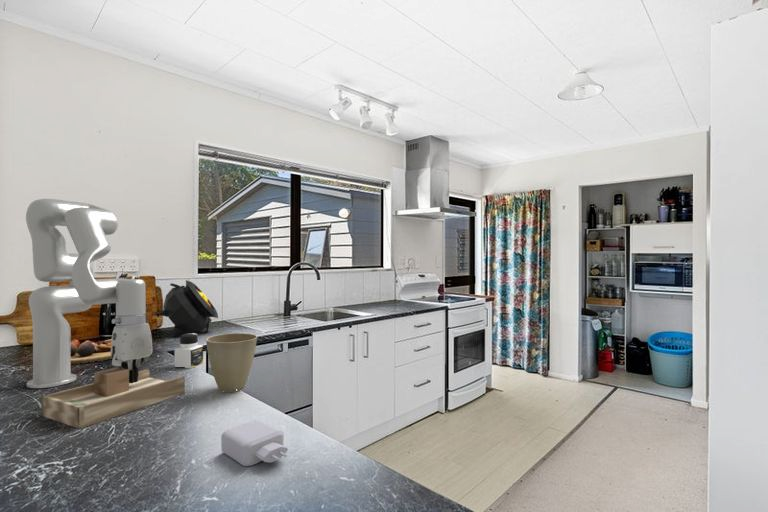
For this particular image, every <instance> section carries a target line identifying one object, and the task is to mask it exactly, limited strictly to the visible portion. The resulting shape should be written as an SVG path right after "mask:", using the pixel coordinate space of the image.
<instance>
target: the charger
mask: <svg viewBox="0 0 768 512" xmlns="http://www.w3.org/2000/svg"><path fill="white" fill-rule="evenodd" d="M284 438H285V437H284V431H283V430H281V429H279V428H276V427H275V426H273V425H271V424H269V423H266V422H264V421H262V420H261V419H256V420H251V421H249V422H246V423H243V424H240V425H237V426H234V427H231V428H229V429H226V430H224V431H223V432H222V434H221V438H220V439H221V452H222V453H223V454H225V455H227V456H228V457H230V458H231V459H233V460H234V461H235V462H237V463H239V464H240V465H242V466H244V467H250V466H253V465H256V464H258V463H260V462H262V461H263V462H264V463H273V462H276V461H280V459H281V458H283V457H285V458H286V457H287V456H288V455H287V452H288V450H289V449H288V447H286V446H284V445H285V444H284Z"/></svg>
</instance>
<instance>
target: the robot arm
mask: <svg viewBox="0 0 768 512" xmlns="http://www.w3.org/2000/svg"><path fill="white" fill-rule="evenodd" d="M25 212H26V213H25V222H26V225H27V228H28V232H29V235H30V237H31V245H32V249H31V250H32V264H33V273H34V277H35V278H36V280H38V281H39V282H42V283H43V282H44V283H58V282H59V283H61V282H69V283H70V285H69V284H68V285H51V286H49V285H48V286H44V287H39V288H36V289H35V290H34V291H32V292H31V293H30V295H29V297H28V306H29V309H30V315H31V321H32V379H31V380H28V381H27V382H26V388H28V389H45V388H46V389H47V388H53V387H58V386H64V385H67V384H69V383H73V382H75V381H76V380H77V374H74V373H72V371H71V368H72V367H71V365H72V364H71V340H72V339H71V337H72V335H71V326H70V325H71V324H70V323H69V322H68V320H67V319H66V318H65V317H64V315H66V314H67V315H68V314H75V313H81V312H86V311H88V310H90V309H92V307H93V306H96V305H97V306H99V305H106V304H115V318H113V319H111V324H115V326H114V327H113V330H112V335H111V339H112V340H111V359H110V360H112V361H111V366H114V367H120V368H122V369H127V370H129V383H134V382H138V372H139V368H141V365H142V364H143V362H145V361H147V360H148V359H150V358H151V355H152V354H153V337H152V332H151V327H150V324H149V322H147V318H146V317H147V306H146V305H147V303H146V302H147V301H146V299H147V298H146V295H147V294H146V289H147V288H146V282H145V281H144V279H140V278H123V277H120V278H117V277H116V278H114V277H111V278H94V269H93V265H92V263H93V262H95V261H97V260H99V259H102V258H105V256H107V255H108V254H109V253H110V251H111V250H112V249H111V248H112V247H111V243H110V242H109V240H108V238H107V236H110V235H113V234H115V233H116V232H117V230H118V227H119V222H118V219H117V215H115V214H114V213H113V212H112V211H111V210H109V209H106V208H103V207H101V206H96V205H94V204H90V203H85V202H78V201H71V200H64V199H56V198H40V199H38V198H37V199H36V200H33V201H32V202H30V204H29V205H28V207H27V209H26V211H25ZM56 226H60V227H66V229H67V231H68V233H69V236H70V238H71V241H72V243H73V245H74V247H75V249H76V251H77V253H68V252H67V247H66V245H67V243H66V239H65V237H64V235H63V234H62V233H61V231H60V230H59V229H58V228H57V227H56Z"/></svg>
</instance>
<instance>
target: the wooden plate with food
mask: <svg viewBox="0 0 768 512" xmlns="http://www.w3.org/2000/svg"><path fill="white" fill-rule="evenodd" d="M111 340H112V338H110V339H107V340H106V339H105V340H102V341H97V342H94V341H91V340H85V341H84V342H82V343H80V340H78V339H76V338H73V339H71V365H79V364H80V363H82V364H89V363H88V362H90V363H95V361H97V362H103V361H107V360H108V359H109V360H112V359H111ZM109 360H108V361H109Z"/></svg>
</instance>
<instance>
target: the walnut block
mask: <svg viewBox="0 0 768 512" xmlns="http://www.w3.org/2000/svg"><path fill="white" fill-rule="evenodd" d="M93 383H94V394H96V395H100V396H104V397H109V396H113V395H116V394H119V393H123V392H126V391H129V370H127V369H123V368H122V367H118V366H115V367H113V368H109V369H105V370H100V371H95V372H94V381H93Z"/></svg>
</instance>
